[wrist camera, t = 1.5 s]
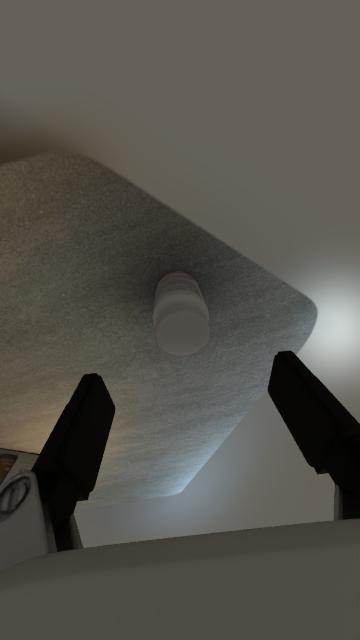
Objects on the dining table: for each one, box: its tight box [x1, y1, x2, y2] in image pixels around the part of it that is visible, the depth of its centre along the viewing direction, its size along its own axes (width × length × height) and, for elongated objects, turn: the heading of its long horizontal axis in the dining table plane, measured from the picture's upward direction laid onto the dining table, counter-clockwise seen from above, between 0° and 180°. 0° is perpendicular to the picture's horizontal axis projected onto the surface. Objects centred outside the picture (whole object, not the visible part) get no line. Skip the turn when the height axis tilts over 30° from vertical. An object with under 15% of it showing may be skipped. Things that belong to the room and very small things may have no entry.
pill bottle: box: [152, 271, 210, 356], centre depth 16 cm, size 5×5×8 cm
